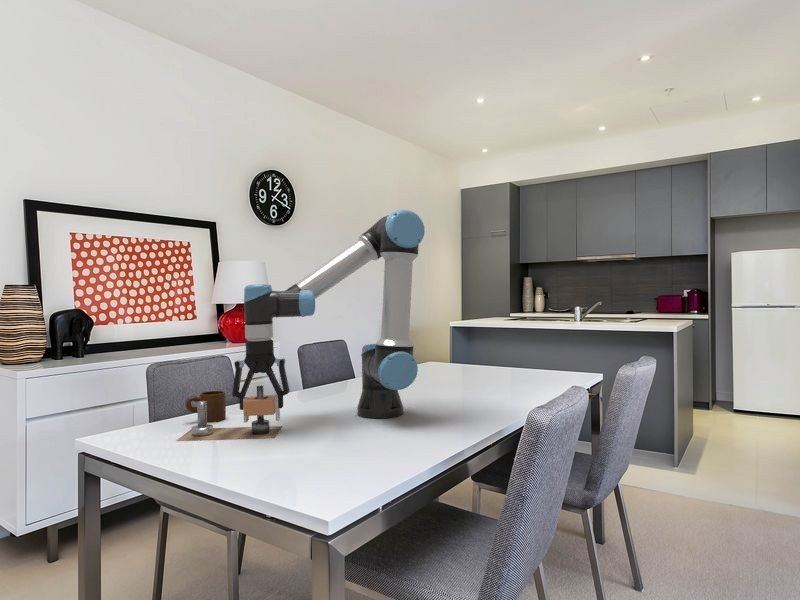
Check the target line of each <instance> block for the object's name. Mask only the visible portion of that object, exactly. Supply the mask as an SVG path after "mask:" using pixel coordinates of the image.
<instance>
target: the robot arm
mask: <svg viewBox="0 0 800 600" xmlns="http://www.w3.org/2000/svg"><path fill="white" fill-rule="evenodd" d="M424 237H425V225H424V222H423V220H422V219H421V217H420V216H419V215H418V214H417V213H416V212H414V211H413V210H409V209H399V210H395V211H392V212H391V213H390V214H388V215H384V216H383V217H381V218H380V219H378V220H376V222H375V223H374V224H372V226H370V227H369V228H368V229H366V231H364V232H363V233H362V234H361V235H359V236H358V239H357V241H355V242H354V243H353V244H351V245H349V246H348V247H347V248H346V249H344V250H343V251H341V252H339V253H338V254H336V255H335V256H333V257H332V258H330V259H329V260H328V261H326V262H325V263H323V264H322V265H321V266H319V267H318V268H316V269H315V270H313V271H311V273H309V274H307V275H305V276H304V277H303V278H301V279H300V280H299V281H297V282H296V283H295V284H293V285H291V286H290V287H288V288H287V289H285V290H279V291H278V290H273V289H272V285H271V284H268V283H266V284H261V283H259V284H248V285H246V286H245V287H244V289H243V292H244V293H243V294H244V295H243V307H244V308H243V309H244V324H245V325H244V337H245V339H246V341H245V357H244V359H241V360H239V359H238V360H235V362H234V368H235V372H234V380H233V387H232V394H231V395H232V397H234V398H238V399H239V410H240V411H243V413H244V403H243V401H245V400H246V399H247V398H248V397H249V396H246V394H247V393H248V390H249V388H250V385H251V382H252V380H253V378H254V375H255V374H259V373H260V374H261V373H262V374H266V376H267V377H268V379H269V381H270V383H271V384H272V388H273V389H274V391H275V395H277V396H276V397H275V414H274V415H275V422H279V421H280V420H281V409H282V408H283V407H284V396H286V395H288V394H289V393H290V391H291V390H290V386H289V382H288V376H287V372H286V367H285V366H286V359H285V358H277V357H276V356H275V354H274V353H275V352H274V340H273V337H274V327H273V326H274V325H273V319H274V318H293V317H294V318H296V317H297V318H298V317H302V318H304V317H311V316H313V315H314V314H315V313H316V299H317V298H319V297H320V296H321V295H323V294H325V293H326V292H328V291H329V290H330V289H332V288H333V287H334V286H336V285H337V284H339V283H341V282H342V281H343V280H345V279H346V278H348V277H349V276H351V275H352V274H353V273H355V272H357V271H358V270H359V269H361V268H362V267H364V266H365V265H366V264H368V263H369V262H370V261H375V262H376V261H377V260H379V259H380V258H383V259H384V270H383V272H384V273H383V287H382V288H383V289H382V309H381V311H382V313H381V314H382V315H381V328H380V332H381V333H380V339H378V340H377V341H376V343H371V344H370V343H368V344H364V345H362V348H361V354H360V355H361V378H362V379H361V381H362V382H361V383H362V386H361V387H362V390H361V395H360V398H359V401H358V405H357V407H356V408H357V409H356V410H357V411H356V413H357V415H358V416H359V417H363V418H369V419H389V418H395V417H399V416H402V415H403V414H404V406H403V405H404V404H403V402H402V400H401V399H402V398H401V395H400V394H399V391H402V390H404V389H406V388H408V387H409V386H411V385H412V384H413V383H414V381H415V380H416V379H417V376H418V370H419V369H418V368H419V367H418V364H417V360H416V358H415V357H414V344H413V343H412V341H411V340H410V324H411V304H412V303H411V301H412V283H413V281H412V280H413V262H414V261H415V260H416V259H417V258H418V257H419V246H420V245H419V244H421V242H422V241H423V239H424ZM274 364H276V366H277V367H278V372H279V377H280V380H281V381H280V382H281V385H282V387H281V385H280V383H279V381H278V379H277V378H276V375H275V373H274V370H273V368H272V367H273V365H274ZM245 365H246V366H247V368H248V369H249V370H248V372H247V375H246V377H245V380H244V382H243V384H242V385H243V386H242V388H241V390H240V387H241V381H242V373H243V368H244V366H245ZM249 417H250V416H244V415H243V423H247V422H248V421H249V420H250V418H249Z"/></svg>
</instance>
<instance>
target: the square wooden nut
mask: <svg viewBox="0 0 800 600" xmlns="http://www.w3.org/2000/svg"><path fill="white" fill-rule="evenodd" d="M263 395H264V399H257V395H249V396H247V397H248V398H247V399H246V400H245V401H243V403H244V412H243V417H244V416H249V417H254V416H255V417H257V416H259V415H264V416H274V415H275V397H276V396H277V394H263Z"/></svg>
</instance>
